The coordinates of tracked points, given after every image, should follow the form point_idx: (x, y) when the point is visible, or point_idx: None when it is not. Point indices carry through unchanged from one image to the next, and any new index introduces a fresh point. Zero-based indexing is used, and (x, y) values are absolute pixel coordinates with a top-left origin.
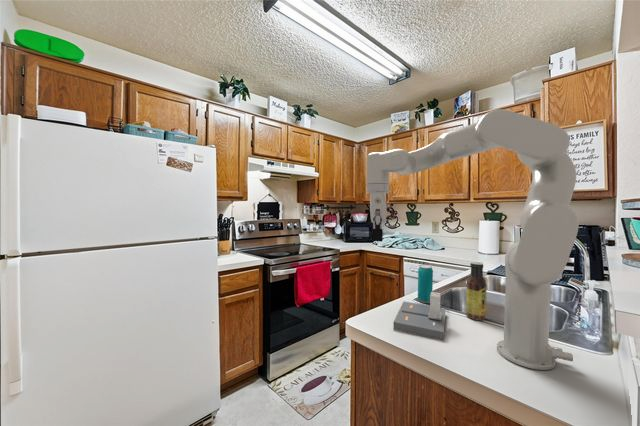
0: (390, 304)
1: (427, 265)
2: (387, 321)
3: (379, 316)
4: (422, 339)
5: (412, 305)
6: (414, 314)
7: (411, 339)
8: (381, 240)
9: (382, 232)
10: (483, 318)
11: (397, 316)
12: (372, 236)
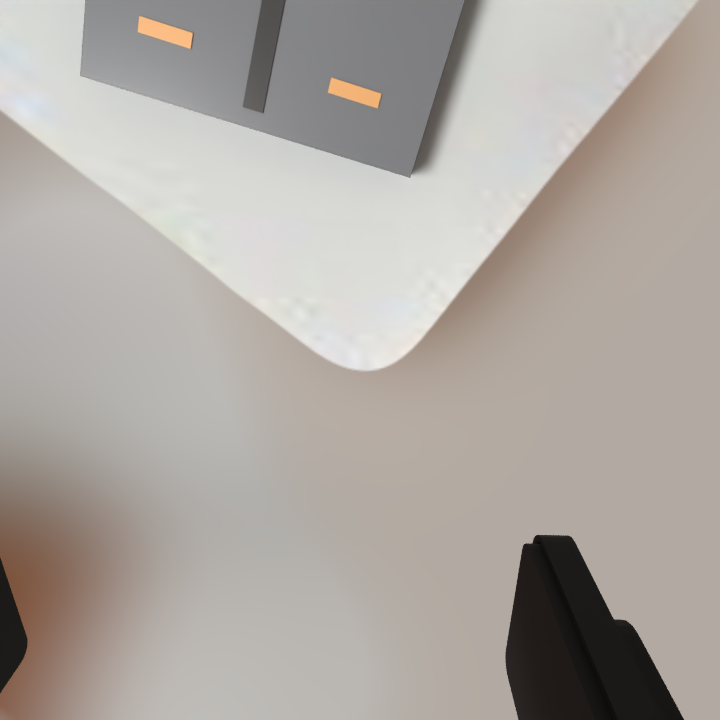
0: (80, 163)
1: None
2: (323, 199)
3: (273, 239)
4: (493, 29)
5: (139, 18)
6: (283, 29)
7: (499, 92)
8: (567, 555)
9: (654, 705)
10: None
11: (337, 147)
12: (15, 660)
